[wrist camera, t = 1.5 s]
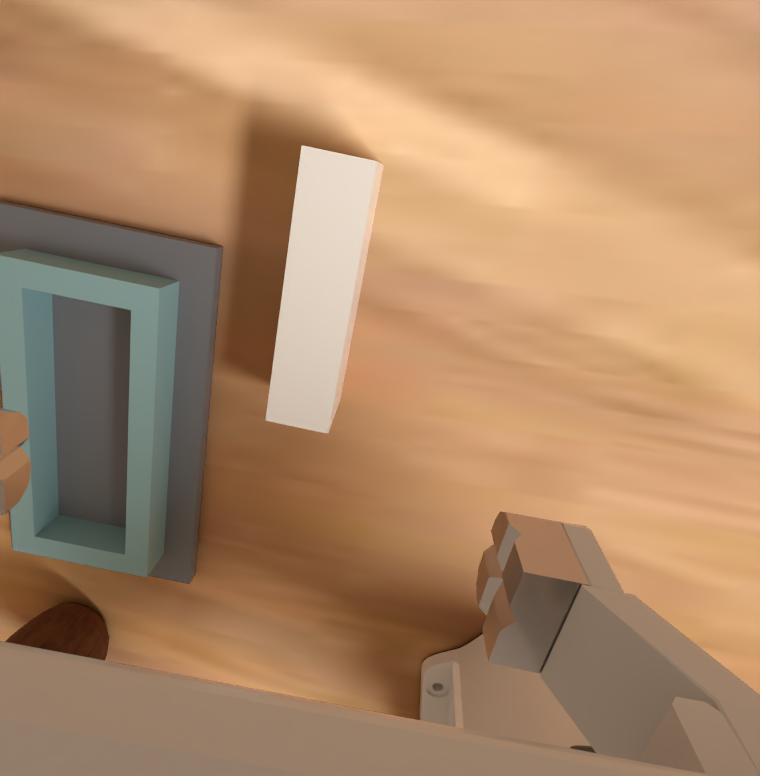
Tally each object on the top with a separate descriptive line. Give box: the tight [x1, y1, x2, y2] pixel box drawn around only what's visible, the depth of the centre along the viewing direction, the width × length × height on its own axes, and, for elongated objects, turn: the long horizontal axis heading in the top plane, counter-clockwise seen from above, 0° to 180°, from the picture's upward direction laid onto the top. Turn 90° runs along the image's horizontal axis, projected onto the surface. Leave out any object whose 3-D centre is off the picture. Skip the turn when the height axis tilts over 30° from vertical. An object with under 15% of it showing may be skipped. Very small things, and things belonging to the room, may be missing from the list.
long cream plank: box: [265, 145, 384, 434], centre depth 29 cm, size 14×4×5 cm, turn 169°
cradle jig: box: [0, 200, 223, 584], centre depth 33 cm, size 24×13×4 cm, turn 169°
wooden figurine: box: [6, 603, 109, 660], centre depth 35 cm, size 7×6×15 cm
